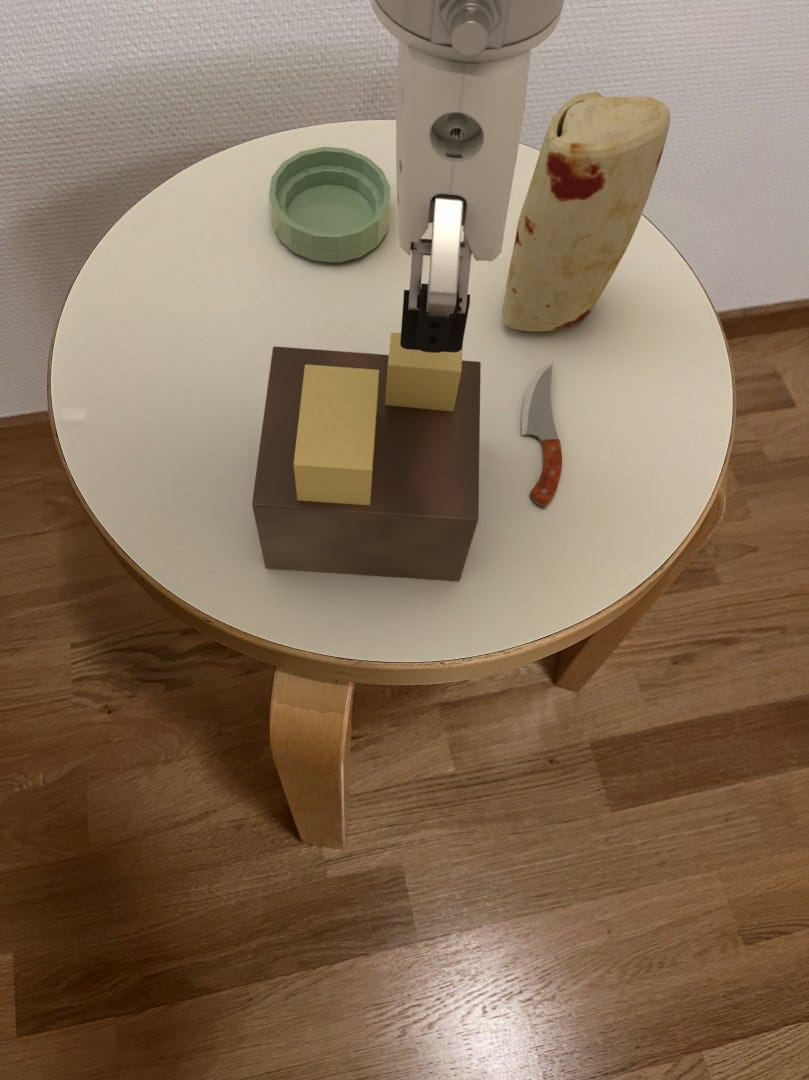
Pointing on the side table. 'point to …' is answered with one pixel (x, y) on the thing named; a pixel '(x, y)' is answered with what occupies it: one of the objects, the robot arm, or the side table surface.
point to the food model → (582, 207)
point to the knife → (543, 434)
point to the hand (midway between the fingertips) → (433, 273)
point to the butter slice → (422, 377)
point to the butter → (336, 435)
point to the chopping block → (373, 482)
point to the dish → (329, 204)
